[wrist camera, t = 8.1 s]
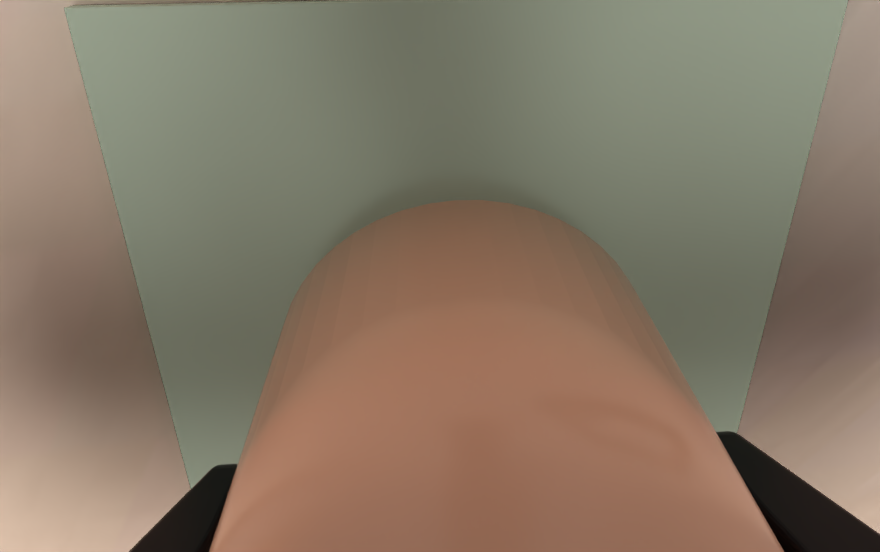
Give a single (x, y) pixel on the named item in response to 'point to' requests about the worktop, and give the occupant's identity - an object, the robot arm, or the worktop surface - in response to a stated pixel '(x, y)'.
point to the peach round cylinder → (479, 404)
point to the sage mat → (448, 159)
